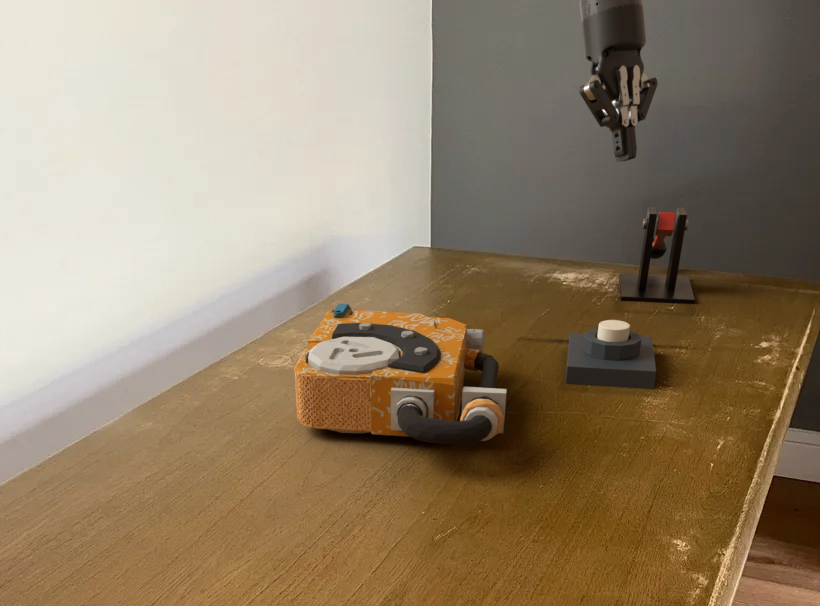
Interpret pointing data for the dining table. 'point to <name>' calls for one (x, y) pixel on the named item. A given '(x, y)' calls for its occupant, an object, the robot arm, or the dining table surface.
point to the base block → (610, 361)
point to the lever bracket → (659, 286)
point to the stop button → (613, 331)
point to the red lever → (662, 233)
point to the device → (398, 378)
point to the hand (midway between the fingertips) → (626, 159)
